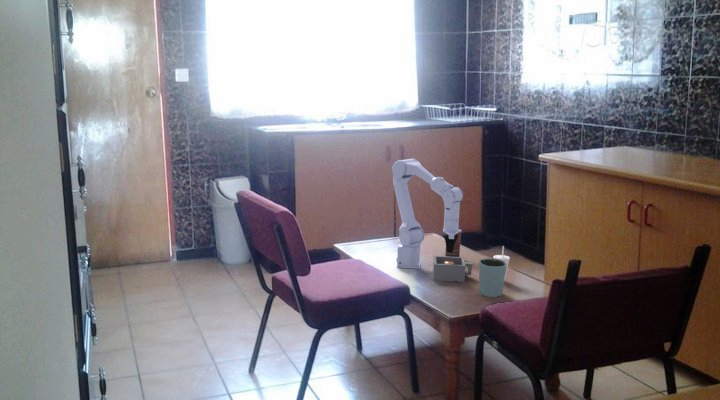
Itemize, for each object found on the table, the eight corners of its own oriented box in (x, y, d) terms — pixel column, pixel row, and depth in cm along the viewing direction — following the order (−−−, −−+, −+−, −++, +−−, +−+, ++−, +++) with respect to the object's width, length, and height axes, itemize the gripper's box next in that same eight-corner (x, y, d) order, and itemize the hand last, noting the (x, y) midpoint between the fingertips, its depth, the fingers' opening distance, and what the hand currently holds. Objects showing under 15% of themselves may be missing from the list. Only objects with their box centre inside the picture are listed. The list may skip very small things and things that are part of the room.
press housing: (433, 280, 282) (434, 264, 281) (432, 271, 294) (433, 255, 293) (471, 282, 281) (472, 266, 280) (469, 273, 293) (470, 257, 292)
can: (459, 260, 311) (461, 228, 309) (444, 258, 313) (446, 227, 310) (460, 256, 317) (462, 224, 314) (445, 255, 318) (447, 223, 316)
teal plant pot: (485, 287, 276) (487, 256, 274) (509, 293, 270) (512, 262, 267) (471, 293, 268) (473, 262, 266) (496, 300, 262) (498, 267, 260)
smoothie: (498, 284, 280) (500, 249, 277) (488, 279, 286) (490, 244, 283) (511, 282, 283) (514, 247, 280) (501, 277, 289) (503, 243, 286)
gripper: (462, 223, 276) (460, 257, 278) (460, 215, 290) (458, 248, 293) (444, 222, 276) (442, 257, 279) (442, 214, 290) (441, 247, 293)
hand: (449, 252), depth 286 cm, fingers closed
